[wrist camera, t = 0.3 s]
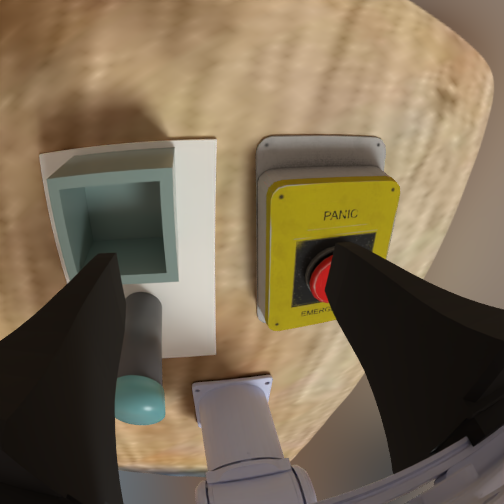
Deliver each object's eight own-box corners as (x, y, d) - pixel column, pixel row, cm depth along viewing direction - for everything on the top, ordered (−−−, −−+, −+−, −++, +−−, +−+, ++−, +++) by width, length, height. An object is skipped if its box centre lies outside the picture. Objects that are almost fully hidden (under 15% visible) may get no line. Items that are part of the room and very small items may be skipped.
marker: (165, 321, 23) (169, 424, 16) (126, 323, 23) (117, 425, 15) (161, 289, 22) (160, 396, 14) (118, 291, 21) (101, 397, 14)
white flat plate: (215, 352, 27) (216, 354, 26) (95, 357, 24) (95, 359, 24) (216, 138, 17) (216, 139, 17) (40, 153, 15) (39, 154, 15)
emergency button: (268, 359, 22) (273, 151, 14) (255, 319, 26) (253, 134, 18) (376, 334, 24) (421, 152, 16) (354, 301, 28) (382, 135, 20)
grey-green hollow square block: (178, 240, 20) (178, 281, 16) (88, 245, 19) (71, 286, 15) (174, 146, 17) (172, 167, 13) (74, 155, 16) (46, 179, 12)
